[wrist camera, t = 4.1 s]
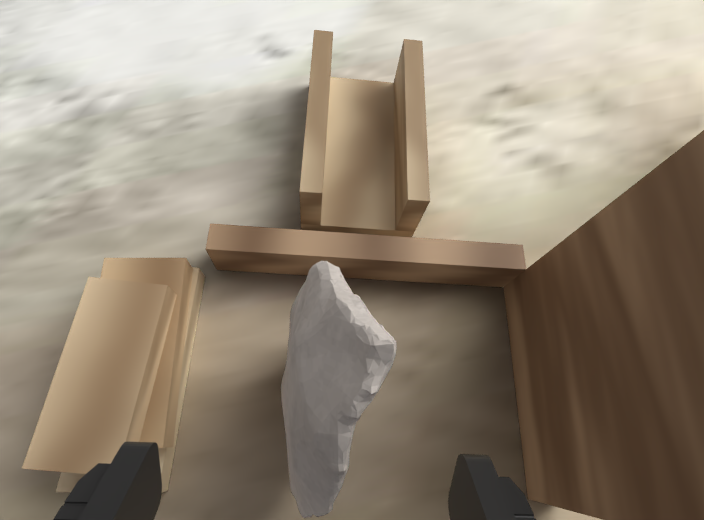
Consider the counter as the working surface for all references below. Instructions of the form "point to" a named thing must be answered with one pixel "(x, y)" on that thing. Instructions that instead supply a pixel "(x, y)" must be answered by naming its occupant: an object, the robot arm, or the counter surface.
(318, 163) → the holder
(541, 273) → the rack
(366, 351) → the stone tool
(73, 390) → the offcut stack
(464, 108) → the counter surface
